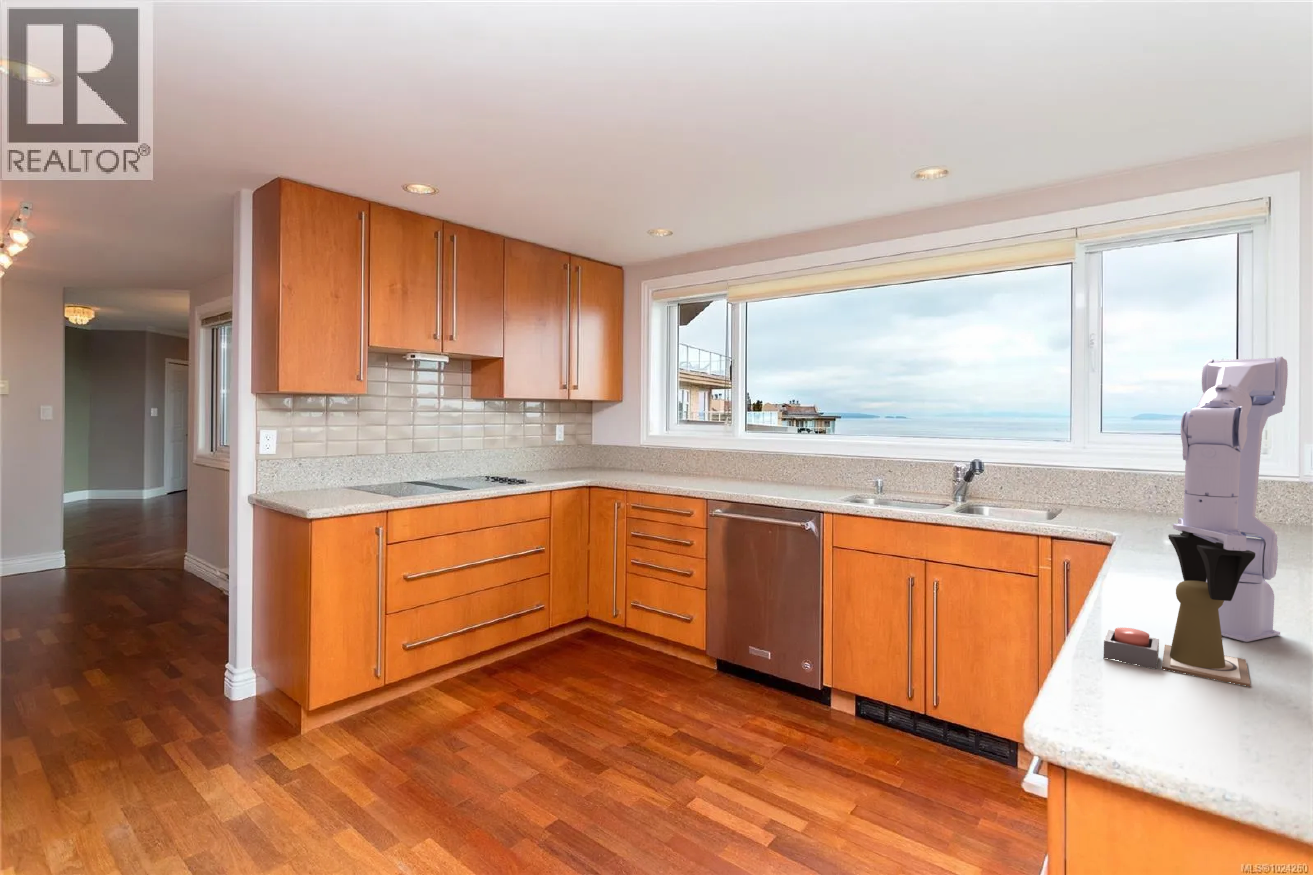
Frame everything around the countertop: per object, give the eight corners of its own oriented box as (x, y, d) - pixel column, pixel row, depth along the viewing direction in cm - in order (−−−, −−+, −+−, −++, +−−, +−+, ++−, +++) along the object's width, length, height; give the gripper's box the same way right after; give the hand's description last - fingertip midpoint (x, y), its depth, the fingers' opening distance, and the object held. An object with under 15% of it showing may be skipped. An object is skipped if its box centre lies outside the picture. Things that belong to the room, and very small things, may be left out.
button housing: (1107, 647, 98) (1108, 629, 98) (1158, 656, 94) (1159, 639, 94) (1103, 658, 93) (1104, 640, 93) (1156, 669, 89) (1156, 650, 89)
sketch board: (1164, 647, 98) (1164, 642, 98) (1245, 662, 92) (1245, 657, 92) (1161, 669, 89) (1161, 664, 89) (1250, 687, 84) (1250, 682, 84)
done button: (1115, 636, 96) (1116, 625, 96) (1149, 642, 94) (1150, 631, 94) (1113, 643, 93) (1113, 632, 93) (1148, 650, 91) (1148, 639, 91)
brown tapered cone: (1236, 670, 87) (1240, 589, 87) (1185, 667, 88) (1188, 586, 88) (1207, 653, 93) (1210, 577, 93) (1160, 650, 94) (1162, 575, 94)
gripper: (1155, 487, 98) (1151, 577, 98) (1200, 500, 84) (1196, 603, 85) (1212, 489, 96) (1208, 581, 96) (1268, 502, 82) (1263, 609, 82)
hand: (1207, 592), depth 90 cm, fingers open, 7 cm apart
